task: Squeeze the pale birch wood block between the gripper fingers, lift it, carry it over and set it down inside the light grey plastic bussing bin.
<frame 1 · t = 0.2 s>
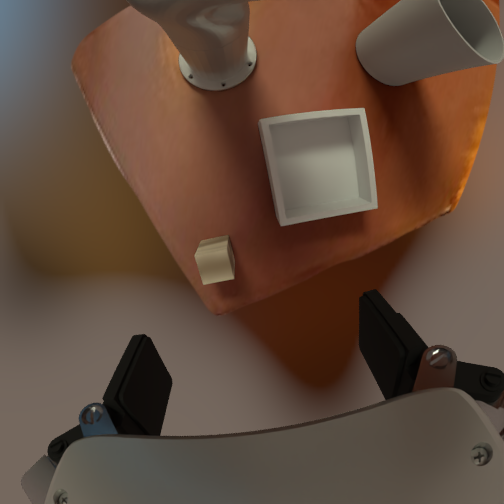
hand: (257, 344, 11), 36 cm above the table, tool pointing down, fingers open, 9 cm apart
bussing bin: (314, 162, 43), on the table
birch block: (218, 251, 48), on the table
cylinder vase: (383, 56, 36), on the table
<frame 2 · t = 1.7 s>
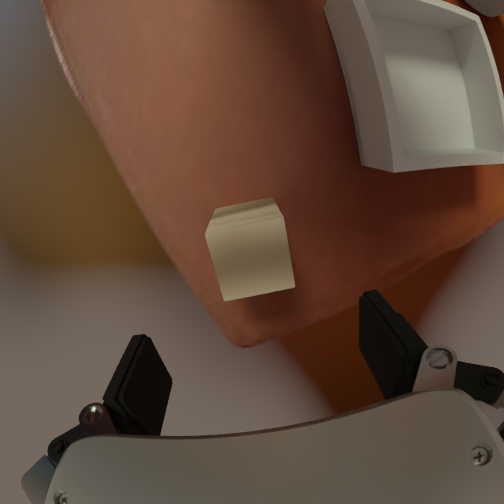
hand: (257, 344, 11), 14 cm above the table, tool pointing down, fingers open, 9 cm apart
bussing bin: (415, 81, 19), on the table
birch block: (249, 230, 24), on the table
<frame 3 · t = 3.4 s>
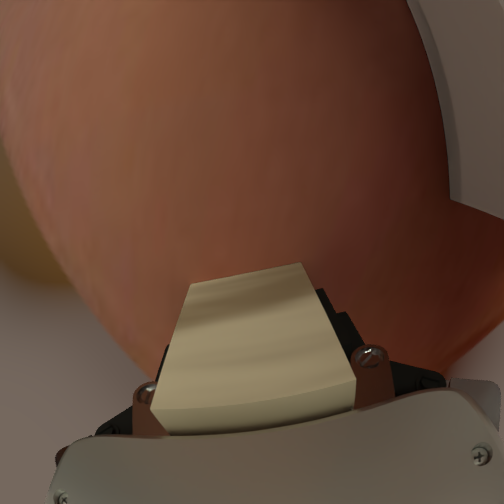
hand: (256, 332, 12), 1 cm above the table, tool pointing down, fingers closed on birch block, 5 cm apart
birch block: (256, 319, 13), on the table, touching gripper
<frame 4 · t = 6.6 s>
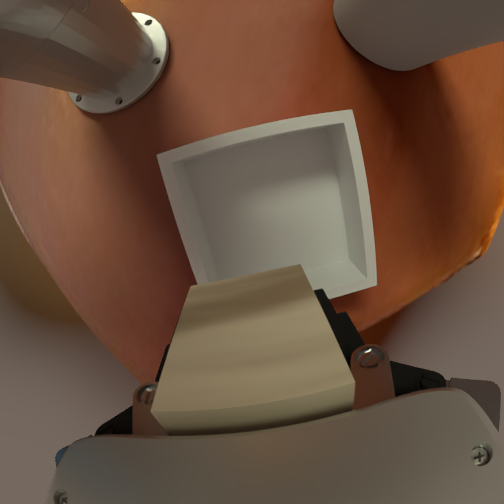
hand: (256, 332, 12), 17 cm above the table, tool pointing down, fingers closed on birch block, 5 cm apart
bussing bin: (272, 209, 27), on the table
birch block: (255, 321, 13), point 16 cm above the table, touching gripper
cylinder vase: (380, 27, 20), on the table
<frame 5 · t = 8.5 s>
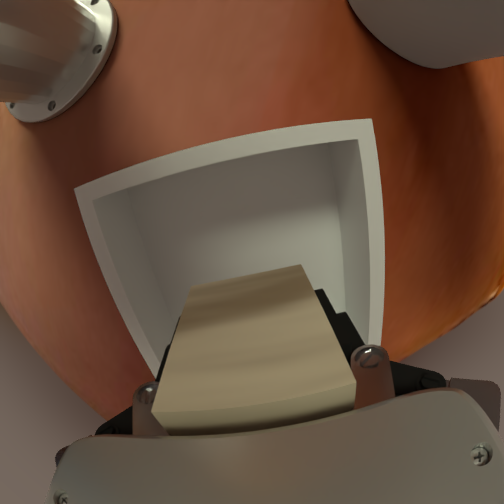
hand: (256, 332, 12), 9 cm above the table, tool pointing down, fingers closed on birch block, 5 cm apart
bussing bin: (246, 252, 20), on the table
birch block: (256, 321, 13), point 8 cm above the table, touching gripper
cylinder vase: (404, 10, 13), on the table
when the fingers open (4 cm above the table, at t = 9.8 s): birch block drops 2 cm, resting on bussing bin.
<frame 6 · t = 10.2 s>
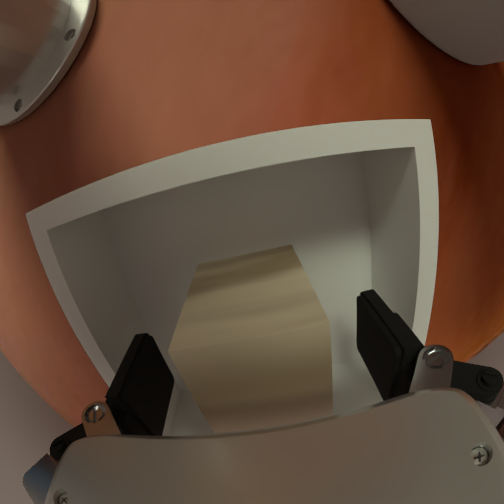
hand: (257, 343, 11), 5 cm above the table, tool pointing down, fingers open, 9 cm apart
bussing bin: (253, 286, 16), on the table
birch block: (254, 295, 15), point 1 cm above the table, touching bussing bin
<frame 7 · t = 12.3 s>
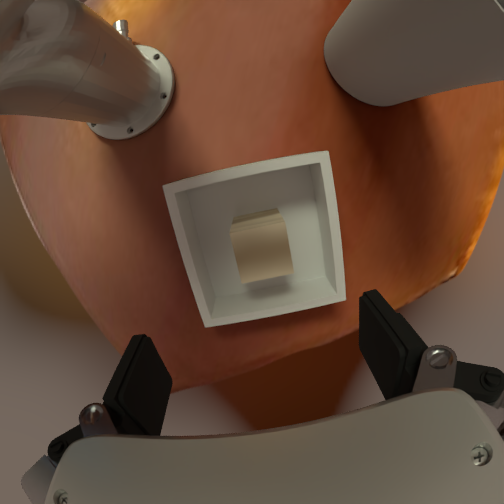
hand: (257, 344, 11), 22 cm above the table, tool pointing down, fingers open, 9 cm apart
bussing bin: (259, 231, 32), on the table
birch block: (259, 233, 31), point 1 cm above the table, touching bussing bin
cylinder vase: (368, 63, 26), on the table
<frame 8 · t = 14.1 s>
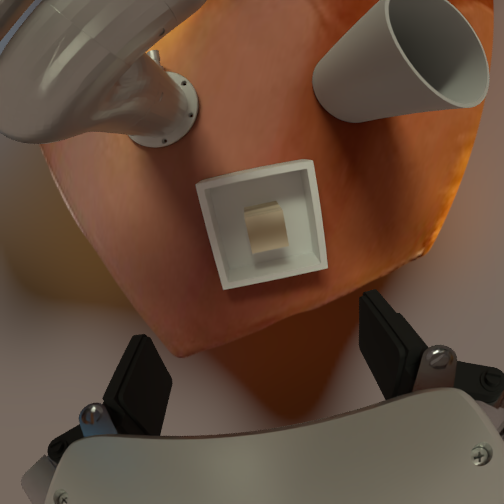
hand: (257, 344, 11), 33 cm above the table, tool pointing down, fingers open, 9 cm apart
bussing bin: (262, 217, 43), on the table
birch block: (263, 219, 42), point 1 cm above the table, touching bussing bin
cylinder vase: (347, 87, 36), on the table
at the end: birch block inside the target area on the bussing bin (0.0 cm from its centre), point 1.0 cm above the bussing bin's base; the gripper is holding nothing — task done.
